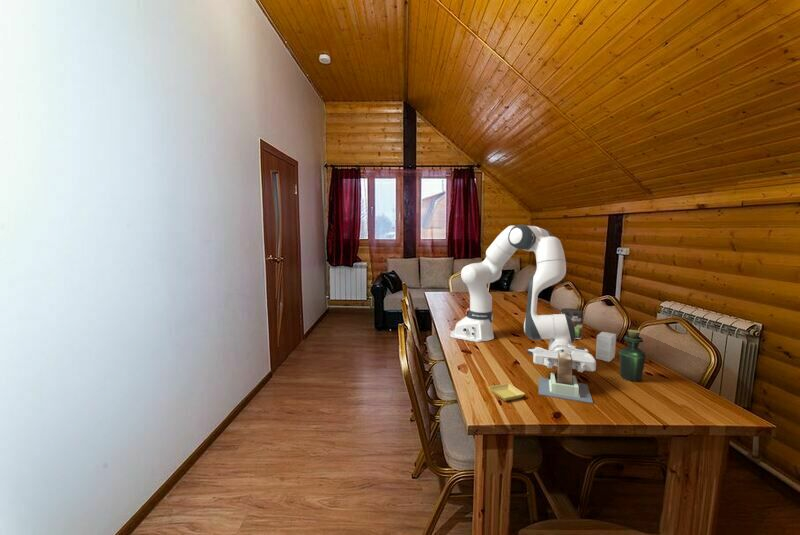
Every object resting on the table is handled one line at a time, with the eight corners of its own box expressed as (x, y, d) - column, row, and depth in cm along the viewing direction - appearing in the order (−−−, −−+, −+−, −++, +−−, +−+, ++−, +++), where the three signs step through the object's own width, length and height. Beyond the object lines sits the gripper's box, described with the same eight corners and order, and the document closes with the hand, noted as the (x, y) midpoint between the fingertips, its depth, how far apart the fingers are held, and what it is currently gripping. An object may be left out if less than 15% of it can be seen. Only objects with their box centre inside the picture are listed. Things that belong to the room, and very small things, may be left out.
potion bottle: (638, 384, 120) (641, 335, 118) (613, 376, 127) (616, 330, 125) (648, 379, 124) (651, 332, 122) (623, 371, 131) (627, 326, 129)
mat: (538, 394, 112) (538, 393, 112) (538, 378, 125) (538, 377, 125) (593, 403, 107) (593, 402, 106) (586, 385, 119) (587, 384, 119)
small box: (600, 354, 151) (602, 331, 150) (615, 357, 147) (616, 333, 146) (595, 358, 145) (596, 335, 144) (609, 362, 141) (611, 337, 140)
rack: (549, 392, 113) (550, 383, 113) (548, 380, 122) (549, 372, 122) (579, 397, 110) (580, 388, 109) (576, 384, 119) (577, 376, 119)
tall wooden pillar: (557, 390, 114) (559, 357, 113) (556, 382, 119) (558, 352, 118) (570, 392, 112) (572, 359, 111) (569, 384, 118) (570, 353, 117)
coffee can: (585, 340, 170) (586, 313, 168) (563, 339, 171) (564, 312, 170) (577, 334, 180) (579, 308, 178) (557, 333, 182) (558, 307, 180)
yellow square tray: (508, 388, 118) (508, 382, 118) (525, 399, 110) (526, 393, 110) (487, 392, 115) (488, 386, 115) (503, 404, 107) (504, 398, 107)
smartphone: (570, 361, 144) (537, 349, 158) (570, 357, 144) (537, 346, 157) (558, 365, 139) (525, 353, 153) (558, 361, 139) (525, 349, 153)
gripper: (532, 343, 131) (532, 354, 118) (592, 349, 123) (599, 363, 110) (532, 358, 131) (531, 372, 119) (591, 366, 124) (598, 381, 111)
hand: (564, 368), depth 114 cm, fingers open, 8 cm apart
